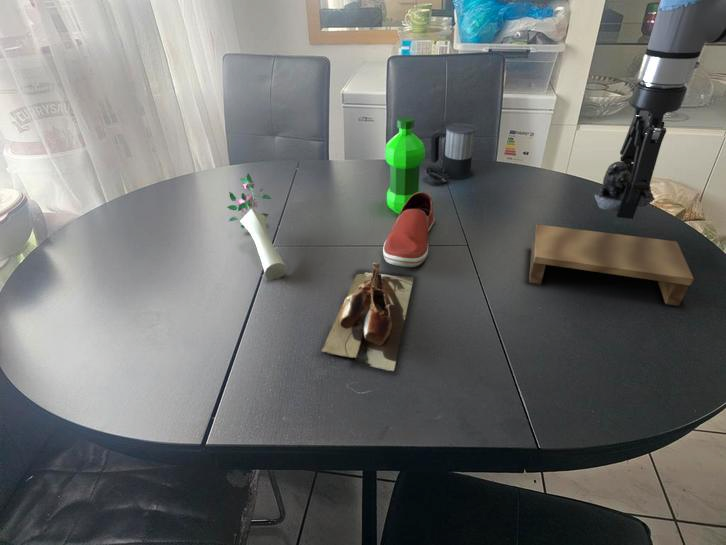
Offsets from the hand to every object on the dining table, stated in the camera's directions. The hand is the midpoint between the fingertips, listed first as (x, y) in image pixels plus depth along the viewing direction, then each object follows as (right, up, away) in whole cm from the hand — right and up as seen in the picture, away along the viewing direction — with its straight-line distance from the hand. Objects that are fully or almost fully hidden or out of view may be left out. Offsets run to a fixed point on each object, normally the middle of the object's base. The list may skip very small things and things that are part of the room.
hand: (621, 205), depth 87 cm
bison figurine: (0, -1, 0) cm, 1 cm away
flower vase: (-76, -6, +25) cm, 80 cm away
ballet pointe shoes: (-49, -22, +1) cm, 53 cm away
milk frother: (-23, +17, +55) cm, 62 cm away
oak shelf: (0, -14, +9) cm, 17 cm away
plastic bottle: (-39, +4, +37) cm, 54 cm away
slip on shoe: (-39, -6, +23) cm, 45 cm away
